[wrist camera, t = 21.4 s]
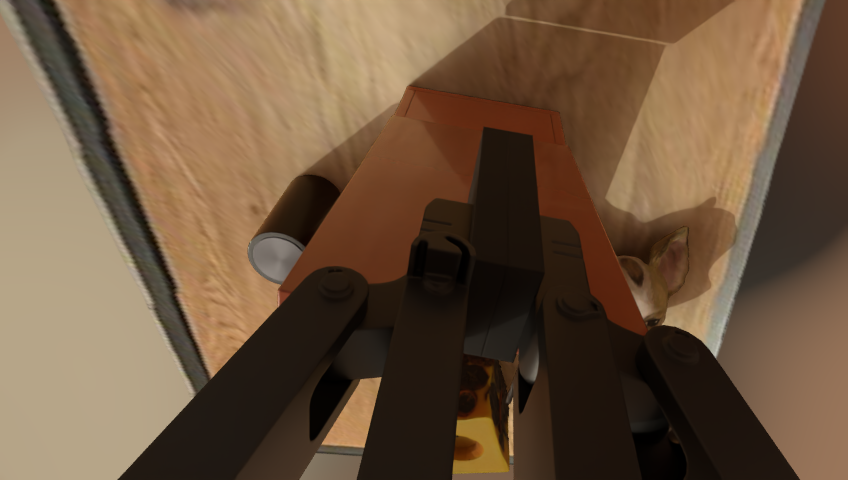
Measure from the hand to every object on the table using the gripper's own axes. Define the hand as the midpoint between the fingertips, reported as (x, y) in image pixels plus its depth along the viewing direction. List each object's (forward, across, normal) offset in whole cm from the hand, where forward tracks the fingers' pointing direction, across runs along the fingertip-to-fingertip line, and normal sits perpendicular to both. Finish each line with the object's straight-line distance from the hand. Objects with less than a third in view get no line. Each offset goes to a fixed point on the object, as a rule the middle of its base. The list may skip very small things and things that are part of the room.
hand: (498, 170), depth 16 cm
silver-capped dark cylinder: (+27, -14, -21) cm, 37 cm away
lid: (+8, 0, -7) cm, 11 cm away
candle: (+27, +4, -42) cm, 50 cm away
